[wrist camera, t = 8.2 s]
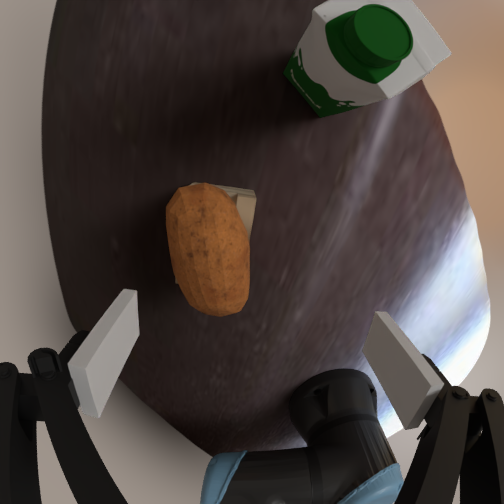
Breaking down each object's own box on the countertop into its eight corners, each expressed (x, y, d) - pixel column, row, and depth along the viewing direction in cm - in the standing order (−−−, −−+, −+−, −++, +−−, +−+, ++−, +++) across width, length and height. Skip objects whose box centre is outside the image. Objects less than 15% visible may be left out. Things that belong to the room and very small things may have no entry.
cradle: (240, 269, 38) (240, 292, 32) (185, 261, 38) (175, 283, 31) (253, 190, 35) (256, 198, 29) (194, 182, 35) (184, 188, 28)
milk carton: (271, 72, 31) (305, -9, 12) (327, 35, 29) (400, -46, 10) (319, 128, 33) (404, 109, 14) (372, 89, 31) (479, 53, 12)
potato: (242, 174, 28) (243, 182, 21) (254, 297, 32) (258, 334, 26) (168, 183, 28) (146, 194, 21) (188, 303, 32) (176, 340, 26)
